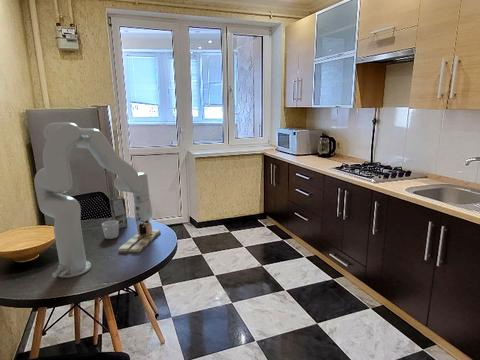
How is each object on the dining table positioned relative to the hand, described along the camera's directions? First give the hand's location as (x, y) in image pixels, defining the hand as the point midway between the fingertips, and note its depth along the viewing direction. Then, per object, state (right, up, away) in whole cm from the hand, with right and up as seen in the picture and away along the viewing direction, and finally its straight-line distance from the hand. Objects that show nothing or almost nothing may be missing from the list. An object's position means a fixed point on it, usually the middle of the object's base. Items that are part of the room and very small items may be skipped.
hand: (144, 232), depth 158 cm
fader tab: (0, -2, 0) cm, 2 cm away
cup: (-18, -4, +2) cm, 18 cm away
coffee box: (-20, 0, +20) cm, 28 cm away
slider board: (-1, -4, -4) cm, 6 cm away
